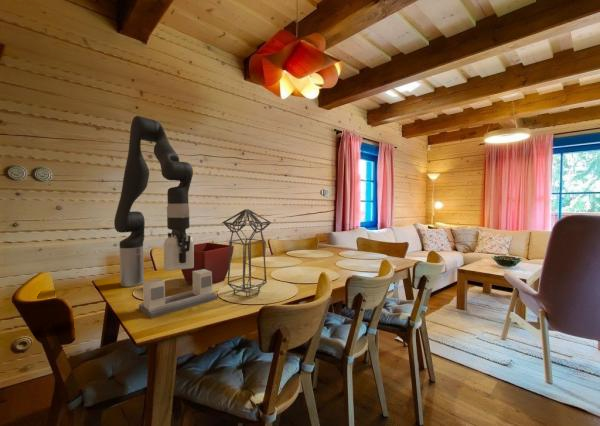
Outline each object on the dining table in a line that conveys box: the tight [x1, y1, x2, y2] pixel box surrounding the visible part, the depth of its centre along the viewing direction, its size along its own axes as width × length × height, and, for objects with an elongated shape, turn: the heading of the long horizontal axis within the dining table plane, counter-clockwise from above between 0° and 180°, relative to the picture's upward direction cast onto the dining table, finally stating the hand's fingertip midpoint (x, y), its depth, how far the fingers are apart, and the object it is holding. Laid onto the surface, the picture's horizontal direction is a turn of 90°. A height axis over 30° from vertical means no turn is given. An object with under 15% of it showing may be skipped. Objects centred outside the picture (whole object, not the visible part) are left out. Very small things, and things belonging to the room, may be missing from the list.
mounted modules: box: [142, 269, 213, 309], centre depth 104 cm, size 6×23×9 cm, turn 137°
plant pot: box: [180, 242, 235, 285], centre depth 133 cm, size 19×19×17 cm
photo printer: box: [163, 236, 194, 272], centre depth 104 cm, size 10×4×12 cm, turn 124°
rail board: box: [138, 290, 218, 319], centre depth 105 cm, size 12×24×2 cm, turn 137°
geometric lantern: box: [220, 208, 272, 298], centre depth 115 cm, size 16×16×35 cm
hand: (179, 261), depth 104 cm, fingers closed on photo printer, 5 cm apart
